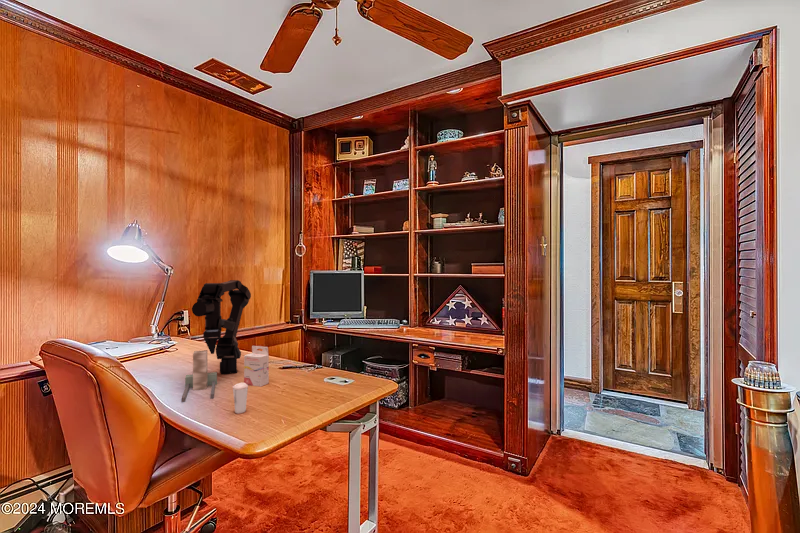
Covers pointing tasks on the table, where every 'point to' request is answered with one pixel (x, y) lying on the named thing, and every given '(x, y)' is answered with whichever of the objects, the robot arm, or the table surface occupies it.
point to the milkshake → (240, 397)
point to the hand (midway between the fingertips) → (213, 351)
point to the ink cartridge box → (256, 367)
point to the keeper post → (200, 370)
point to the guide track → (189, 383)
